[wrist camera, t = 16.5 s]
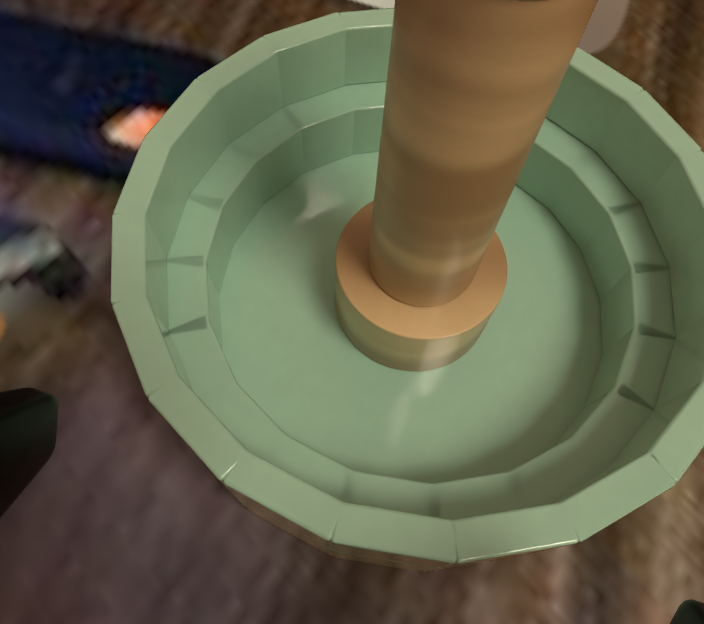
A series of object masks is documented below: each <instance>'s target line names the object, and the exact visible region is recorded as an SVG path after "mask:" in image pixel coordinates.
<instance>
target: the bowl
mask: <svg viewBox="0 0 704 624" xmlns="http://www.w3.org/2000/svg"><path fill="white" fill-rule="evenodd" d="M393 17H394V8H387V9H375V10H362V11H350V12H340V13H339V14H338V13H337V12H336V13H333V14H329V15H326V16H323V17H320V18H317V19H314V20H311V21H307V22H304V23H301V24H298V25H295V26H292V27H289V28H285V29H282V30H279V31H276V32H273V33H270V34H266V35H264V36H263V37H260V38H259V39H257V40H255V41H254V42H252V43H251V44H249V45H248V46H246V47H244V48H243V49H241V50H240V51H238V52H236V53H235V54H233V55H232V56H230V57H228V58H227V59H225V60H224V61H222V62H220V63H219V64H217V65H216V66H214V67H213V68H211V69H209V70H208V71H206V72H205V73H203V74H201V75H200V76H198V77H197V79H195V80H194V81H193V82H192V83H191V84H190V85H189V87H188V88H187V89H186V90H185V91H184V92H183V93H182V95H181V96H180V97H179V98H178V99H177V100H176V101H175V103H174V104H173V105H172V106H171V107H170V108H169V109H168V111H167V112H166V113H165V114H164V115H163V116H162V117H161V119H160V120H159V121H158V122H157V123H156V124H155V125H154V127H153V128H152V129H151V130H150V131H149V132H148V133H147V135H146V136H145V139H143V141H142V143H141V146H140V148H139V150H138V153H137V155H136V158H135V160H134V163H133V165H132V168H131V170H130V173H129V175H128V178H127V180H126V183H125V185H124V187H123V190H122V192H121V195H120V197H119V200H118V202H117V205H116V207H115V210H114V214H113V215H112V257H111V304H112V305H113V311H114V313H115V316H116V319H117V321H118V324H119V327H120V329H121V332H122V335H123V337H124V340H125V343H126V345H127V348H128V351H129V353H130V356H131V359H132V361H133V364H134V367H135V369H136V372H137V375H138V377H139V380H140V383H141V385H142V388H143V391H144V393H145V395H146V396H147V397H148V400H149V402H150V403H151V404H152V405H153V406H154V407H155V409H156V410H157V411H158V412H159V413H160V414H161V415H162V416H163V418H164V419H165V420H166V421H167V422H168V423H169V424H170V426H171V427H172V428H173V429H174V430H175V431H176V432H177V433H178V435H179V436H180V437H181V438H182V439H183V440H184V441H185V443H186V444H187V445H188V446H189V447H190V448H191V449H192V450H193V452H194V453H195V454H196V455H197V456H198V457H199V458H200V460H201V461H202V462H203V463H204V464H205V465H206V466H207V467H208V469H209V470H210V471H211V472H212V473H213V474H214V475H215V476H216V478H217V479H218V480H219V481H220V482H221V483H222V484H223V485H224V486H225V487H226V488H227V489H228V490H229V491H230V492H231V493H232V494H233V495H234V496H235V497H236V498H237V499H238V500H239V501H240V502H241V503H242V504H243V505H244V506H245V507H246V508H248V509H249V510H250V511H251V512H252V513H254V514H256V515H257V516H259V517H261V518H263V519H265V520H266V521H268V522H270V523H272V524H274V525H275V526H277V527H279V528H281V529H283V530H284V531H286V532H288V533H290V534H292V535H293V536H295V537H297V538H299V539H301V540H302V541H304V542H306V543H308V544H310V545H311V546H313V547H315V548H317V549H319V550H320V551H322V552H324V553H326V554H331V555H332V556H333V557H339V558H345V559H351V560H357V561H362V562H368V563H374V564H380V565H386V566H391V567H397V568H403V569H409V570H415V571H420V572H423V571H426V572H430V571H436V570H441V569H447V568H453V567H459V566H464V565H470V564H476V563H481V562H487V561H493V560H499V559H504V558H510V557H516V556H520V555H525V554H530V553H534V552H539V551H544V550H549V549H553V548H558V547H563V546H568V545H572V544H576V543H578V542H582V541H584V540H586V539H587V538H589V537H591V536H592V535H594V534H595V533H597V532H599V531H600V530H602V529H604V528H605V527H607V526H609V525H610V524H612V523H614V522H615V521H617V520H619V519H620V518H622V517H624V516H625V515H627V514H629V513H630V512H632V511H634V510H635V509H637V508H639V507H640V506H642V505H644V504H645V503H647V502H649V501H650V500H652V499H654V498H655V497H657V496H659V495H660V494H662V493H664V492H665V491H667V490H669V489H670V488H672V487H673V486H675V484H676V483H677V482H678V481H679V480H680V479H681V477H682V476H683V474H684V473H685V472H686V470H687V469H688V468H689V466H690V465H691V463H692V462H693V461H694V459H695V458H696V457H697V455H698V454H699V452H700V451H701V450H702V448H703V447H704V152H703V151H701V148H700V147H699V146H698V144H697V143H696V142H695V141H694V140H693V139H692V138H691V137H690V136H689V135H688V134H687V133H686V132H685V131H684V130H683V129H682V128H681V127H680V126H679V125H678V124H677V123H676V121H675V120H674V119H673V118H672V117H671V116H670V115H669V114H668V113H667V112H666V111H665V110H664V109H663V108H662V107H661V106H660V105H659V104H658V103H657V102H656V101H655V100H654V99H653V97H652V96H651V95H650V94H649V93H648V92H647V91H645V90H643V88H642V87H641V86H639V85H637V84H636V83H634V82H633V81H631V80H630V79H628V78H626V77H625V76H623V75H622V74H620V73H619V72H617V71H615V70H614V69H612V68H611V67H609V66H608V65H606V64H604V63H603V62H601V61H600V60H598V59H596V58H595V57H593V56H592V55H590V54H589V53H587V52H585V51H584V50H582V49H581V48H579V47H578V46H577V48H576V51H575V53H574V55H573V57H572V59H571V62H570V64H569V66H568V68H567V71H566V73H565V75H564V77H563V80H562V82H561V84H560V86H559V89H558V91H557V93H556V95H555V97H554V100H553V102H552V104H551V106H550V109H549V111H548V113H547V115H546V118H545V120H544V122H543V124H542V126H541V129H540V131H539V133H538V135H537V138H536V140H535V142H534V144H533V147H532V149H531V151H530V153H529V155H528V158H527V160H526V162H525V164H524V167H523V169H522V171H521V173H520V176H519V178H518V180H517V182H516V185H515V187H514V189H513V191H512V193H511V196H510V198H509V200H508V202H507V205H506V207H505V209H504V211H503V214H502V216H501V218H500V220H499V222H498V225H497V227H496V229H495V232H496V233H497V235H498V236H499V238H500V241H501V243H502V245H503V248H504V251H505V254H506V259H507V282H506V287H505V290H504V293H503V296H502V298H501V300H500V302H499V304H498V305H497V307H496V309H495V311H494V312H493V314H492V316H491V318H490V319H489V321H488V323H487V325H486V326H485V328H484V330H483V332H482V333H481V335H480V337H479V338H478V340H477V341H476V343H475V344H474V346H473V347H472V348H471V349H470V350H469V351H468V352H467V353H466V354H464V355H463V356H462V357H461V358H459V359H458V360H456V361H454V362H453V363H451V364H448V365H446V366H444V367H441V368H437V369H434V370H428V371H403V370H397V369H393V368H389V367H387V366H384V365H382V364H379V363H377V362H375V361H373V360H372V359H370V358H369V357H367V356H366V355H364V354H363V353H362V352H360V351H359V350H358V349H357V348H356V347H355V346H354V345H353V344H352V343H351V341H350V340H349V339H348V338H347V336H346V334H345V333H344V331H343V329H342V327H341V325H340V323H339V320H338V317H337V314H336V307H335V255H336V248H337V244H338V241H339V237H340V235H341V233H342V231H343V229H344V227H345V226H346V224H347V223H348V221H349V220H350V219H351V218H352V217H353V216H354V215H355V213H356V212H358V211H359V210H360V209H361V208H362V207H364V206H365V205H367V204H368V203H370V202H371V201H373V200H374V194H375V185H376V176H377V166H378V157H379V148H380V138H381V129H382V120H383V110H384V101H385V92H386V82H387V73H388V64H389V54H390V45H391V36H392V26H393Z"/></svg>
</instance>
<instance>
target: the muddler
mask: <svg viewBox="0 0 704 624" xmlns="http://www.w3.org/2000/svg"><path fill="white" fill-rule="evenodd" d="M597 1H598V0H395V8H394V17H393V26H392V36H391V45H390V54H389V64H388V73H387V82H386V92H385V101H384V110H383V120H382V129H381V138H380V148H379V157H378V166H377V176H376V185H375V194H374V200H373V201H371V202H370V203H368V204H367V205H365V206H364V207H362V208H361V209H360V210H359V211H358V212H356V213H355V215H354V216H353V217H352V218H351V219H350V220H349V221H348V223H347V224H346V226H345V227H344V229H343V231H342V233H341V235H340V237H339V241H338V244H337V248H336V255H335V307H336V314H337V317H338V320H339V323H340V325H341V327H342V329H343V331H344V333H345V334H346V336H347V338H348V339H349V340H350V341H351V343H352V344H353V345H354V346H355V347H356V348H357V349H358V350H359V351H360V352H362V353H363V354H364V355H366V356H367V357H369V358H370V359H372V360H373V361H375V362H377V363H379V364H382V365H384V366H387V367H389V368H393V369H397V370H403V371H428V370H434V369H437V368H441V367H444V366H446V365H448V364H451V363H453V362H454V361H456V360H458V359H459V358H461V357H462V356H463V355H464V354H466V353H467V352H468V351H469V350H470V349H471V348H472V347H473V346H474V344H475V343H476V341H477V340H478V338H479V337H480V335H481V333H482V332H483V330H484V328H485V326H486V325H487V323H488V321H489V319H490V318H491V316H492V314H493V312H494V311H495V309H496V307H497V305H498V304H499V302H500V300H501V298H502V296H503V293H504V290H505V287H506V282H507V259H506V254H505V251H504V248H503V245H502V243H501V241H500V238H499V236H498V235H497V233H496V232H495V229H496V227H497V225H498V222H499V220H500V218H501V216H502V214H503V211H504V209H505V207H506V205H507V202H508V200H509V198H510V196H511V193H512V191H513V189H514V187H515V185H516V182H517V180H518V178H519V176H520V173H521V171H522V169H523V167H524V164H525V162H526V160H527V158H528V155H529V153H530V151H531V149H532V147H533V144H534V142H535V140H536V138H537V135H538V133H539V131H540V129H541V126H542V124H543V122H544V120H545V118H546V115H547V113H548V111H549V109H550V106H551V104H552V102H553V100H554V97H555V95H556V93H557V91H558V89H559V86H560V84H561V82H562V80H563V77H564V75H565V73H566V71H567V68H568V66H569V64H570V62H571V59H572V57H573V55H574V53H575V51H576V48H577V46H578V44H579V41H580V39H581V37H582V35H583V33H584V30H585V28H586V26H587V24H588V22H589V19H590V17H591V15H592V12H593V10H594V8H595V6H596V4H597Z"/></svg>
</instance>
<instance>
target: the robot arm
mask: <svg viewBox="0 0 704 624" xmlns="http://www.w3.org/2000/svg"><path fill="white" fill-rule="evenodd" d="M57 419H58V400H57V398H56V397H55V396H54V395H53V394H50V393H47V392H44V391H41V390H37V389H34V388H21V389H15V390H10V391H4V392H0V518H1V517H2V516H3V515H4V513H5V512H6V511H7V510H8V509H9V507H10V506H11V505H12V504H13V502H14V501H15V500H16V499H17V498H18V496H19V495H20V494H21V493H22V492H23V490H24V489H25V488H26V487H27V486H28V484H29V483H30V482H31V481H32V480H33V478H34V477H35V476H36V475H37V473H38V472H39V471H40V470H41V469H42V467H43V466H44V465H45V464H46V463H47V461H48V460H49V458H50V457H51V455H52V453H53V451H54V448H55V443H56V432H57ZM670 624H704V603H702V602H698V601H695V600H686V601H684V602H683V603H682V604H681V605H680V606H679V608H678V610H677V611H676V613H675V615H674V617H673V619H672V621H671V622H670Z"/></svg>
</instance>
